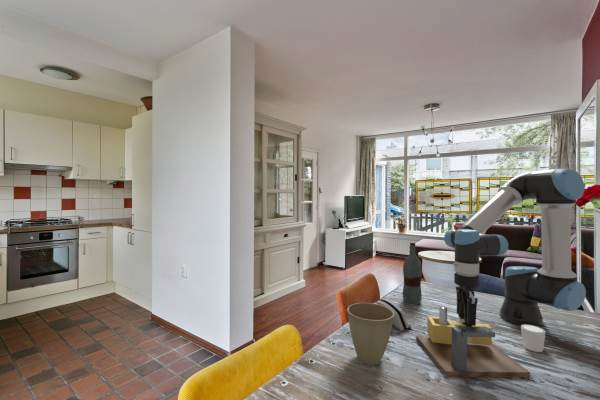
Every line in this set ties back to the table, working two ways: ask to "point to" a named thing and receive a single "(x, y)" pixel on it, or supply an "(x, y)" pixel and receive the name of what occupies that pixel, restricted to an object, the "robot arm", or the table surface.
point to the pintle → (443, 316)
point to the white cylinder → (533, 337)
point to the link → (444, 332)
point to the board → (473, 360)
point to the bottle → (412, 278)
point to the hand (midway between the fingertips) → (465, 339)
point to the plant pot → (370, 330)
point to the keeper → (465, 343)
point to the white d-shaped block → (395, 314)
